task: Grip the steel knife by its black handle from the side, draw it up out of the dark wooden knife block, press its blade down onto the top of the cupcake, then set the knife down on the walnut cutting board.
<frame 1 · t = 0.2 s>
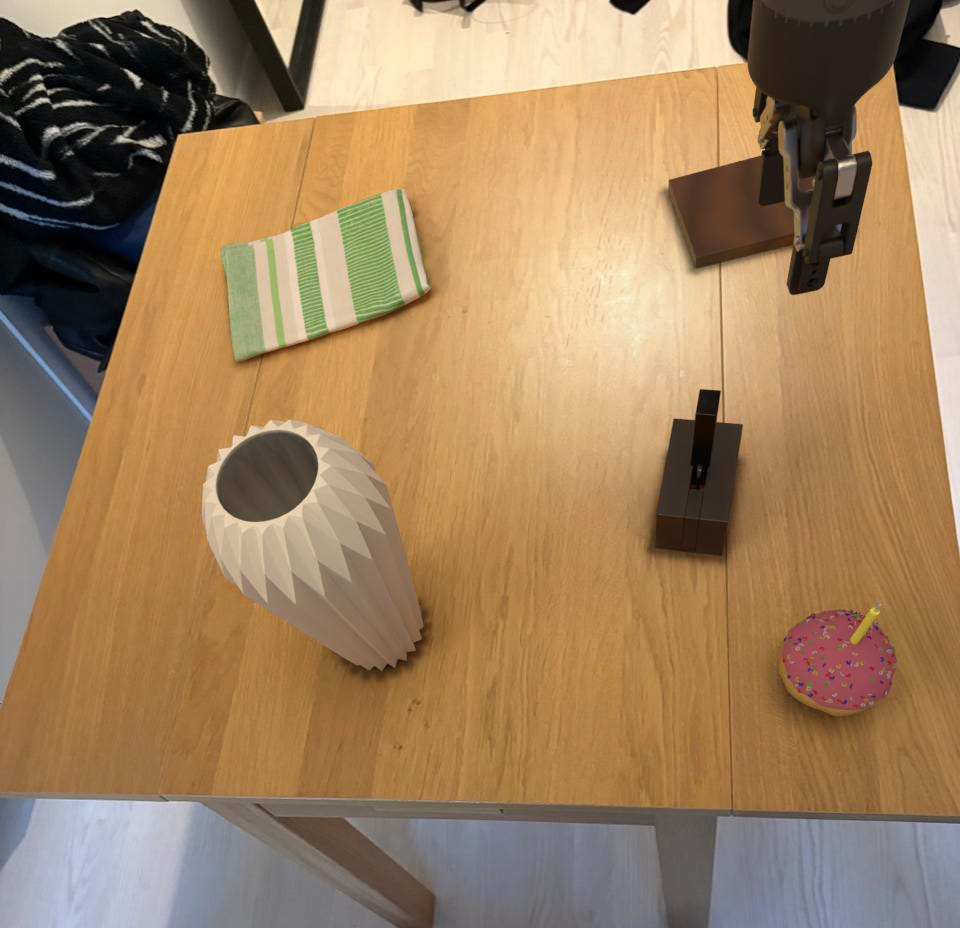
hand: (788, 243, 55), 25 cm above the table, tool pointing down, fingers open, 8 cm apart
vase: (382, 631, 77), on the table
knife block: (695, 504, 76), on the table
cupcake: (825, 681, 68), on the table
cutting board: (755, 210, 88), on the table
dish towel: (327, 281, 96), on the table
knife: (701, 458, 69), in the knife block
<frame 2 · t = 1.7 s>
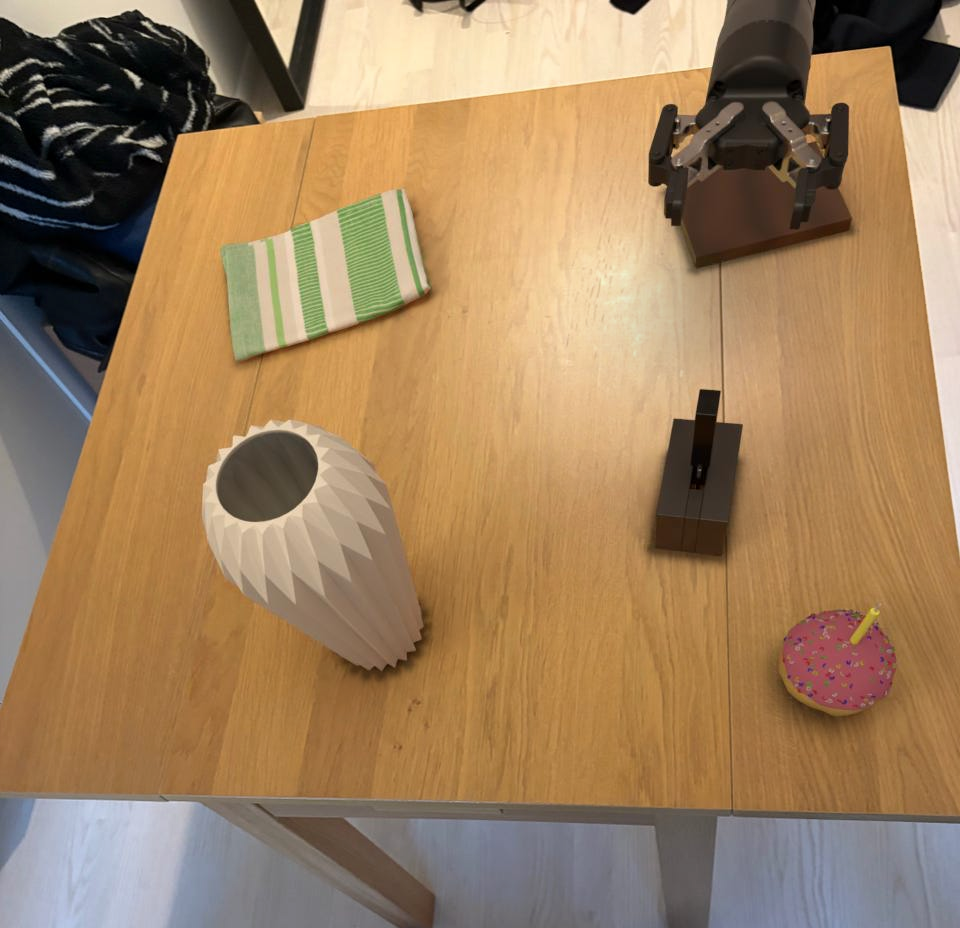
hand: (735, 218, 60), 22 cm above the table, tool horizontal, fingers open, 8 cm apart
nothing on the table moved.
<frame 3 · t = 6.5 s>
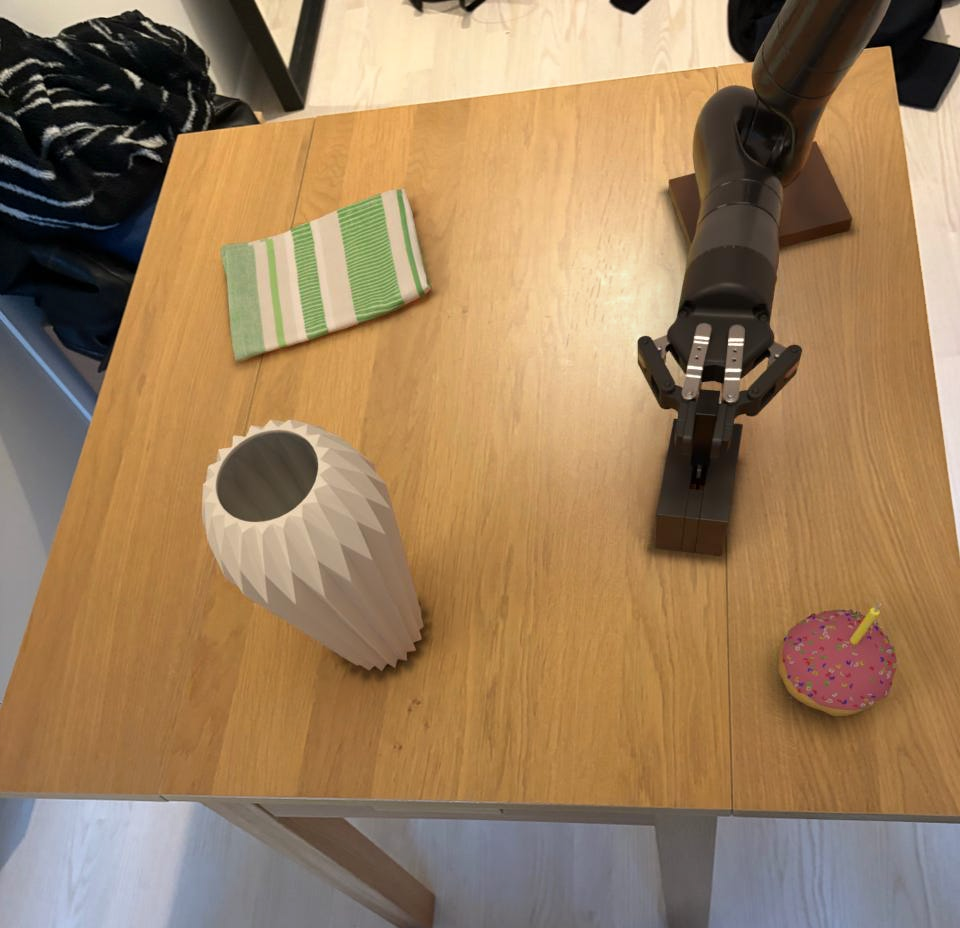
hand: (701, 449, 63), 13 cm above the table, tool horizontal, fingers closed on knife, 1 cm apart
knife: (701, 458, 69), in the knife block, touching gripper
everything else where it was.
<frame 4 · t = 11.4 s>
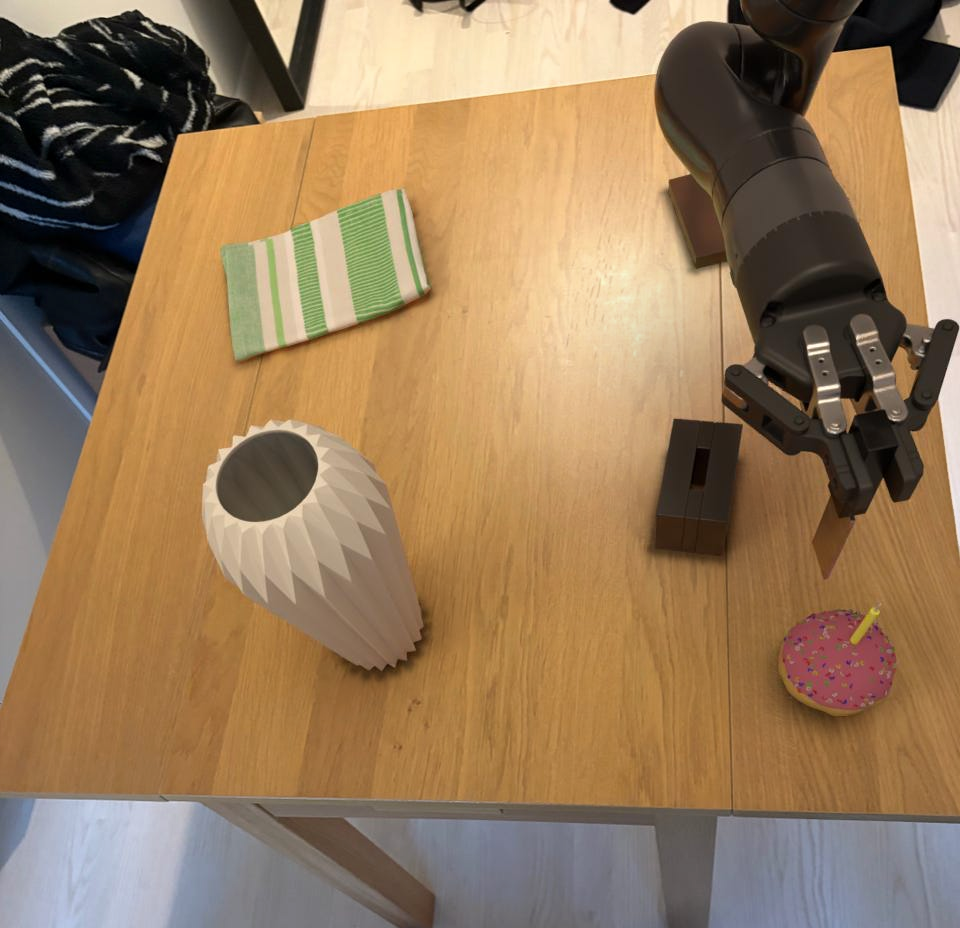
hand: (884, 497, 44), 28 cm above the table, tool horizontal, fingers closed on knife, 1 cm apart
knife: (844, 504, 50), point 22 cm above the table, touching gripper
everything else where it was.
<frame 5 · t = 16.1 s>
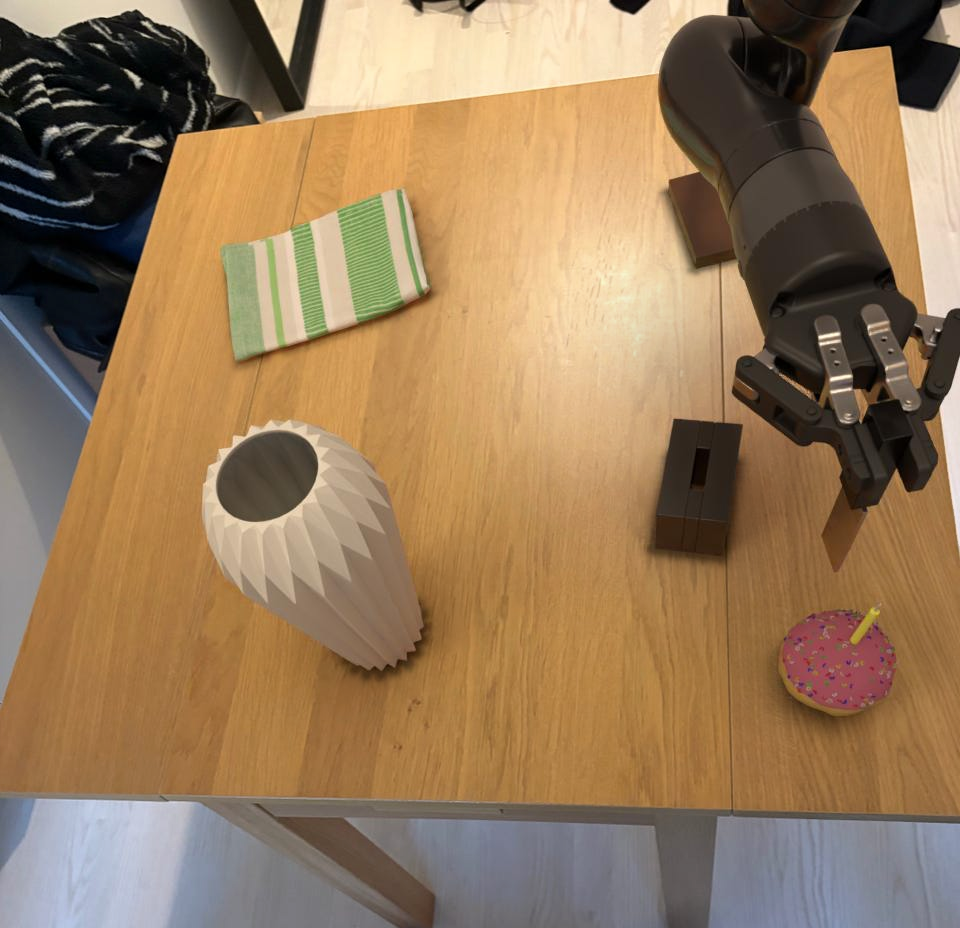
hand: (899, 486, 43), 28 cm above the table, tool horizontal, fingers closed on knife, 1 cm apart
knife: (856, 495, 50), point 22 cm above the table, touching gripper
everything else where it was.
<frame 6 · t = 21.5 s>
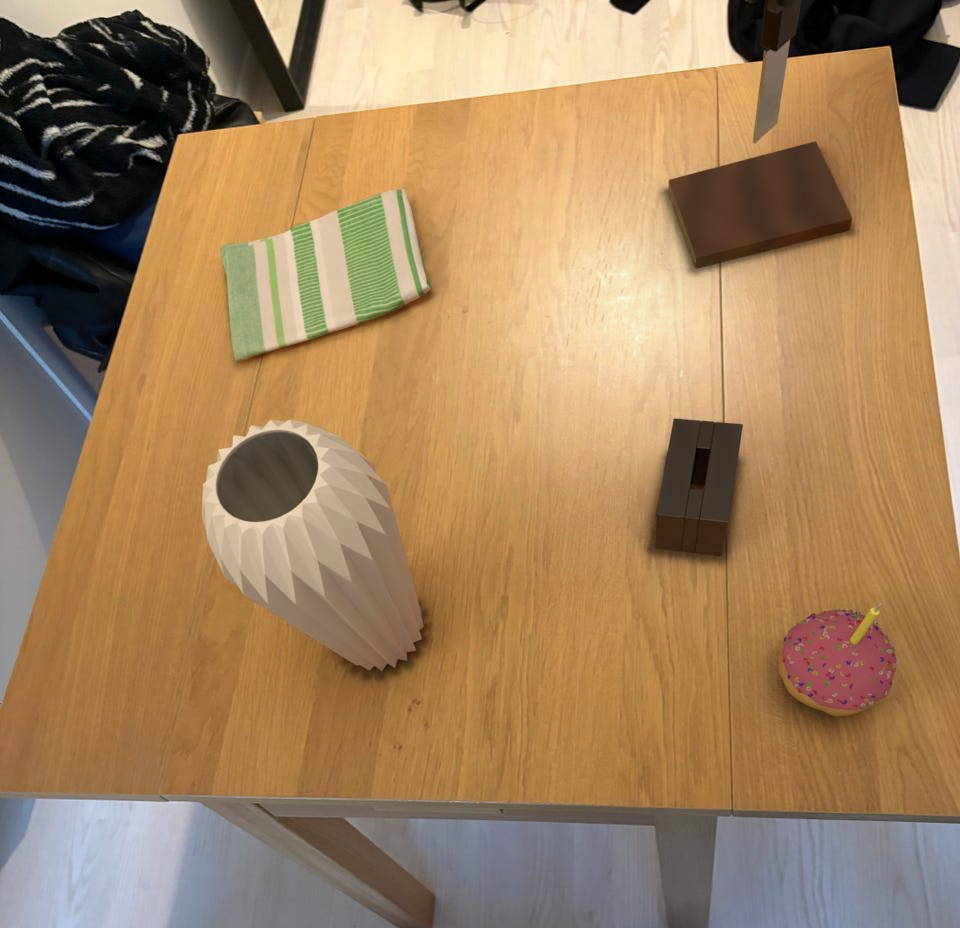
knife: (776, 46, 66), point 22 cm above the table, touching gripper
everything else where it was.
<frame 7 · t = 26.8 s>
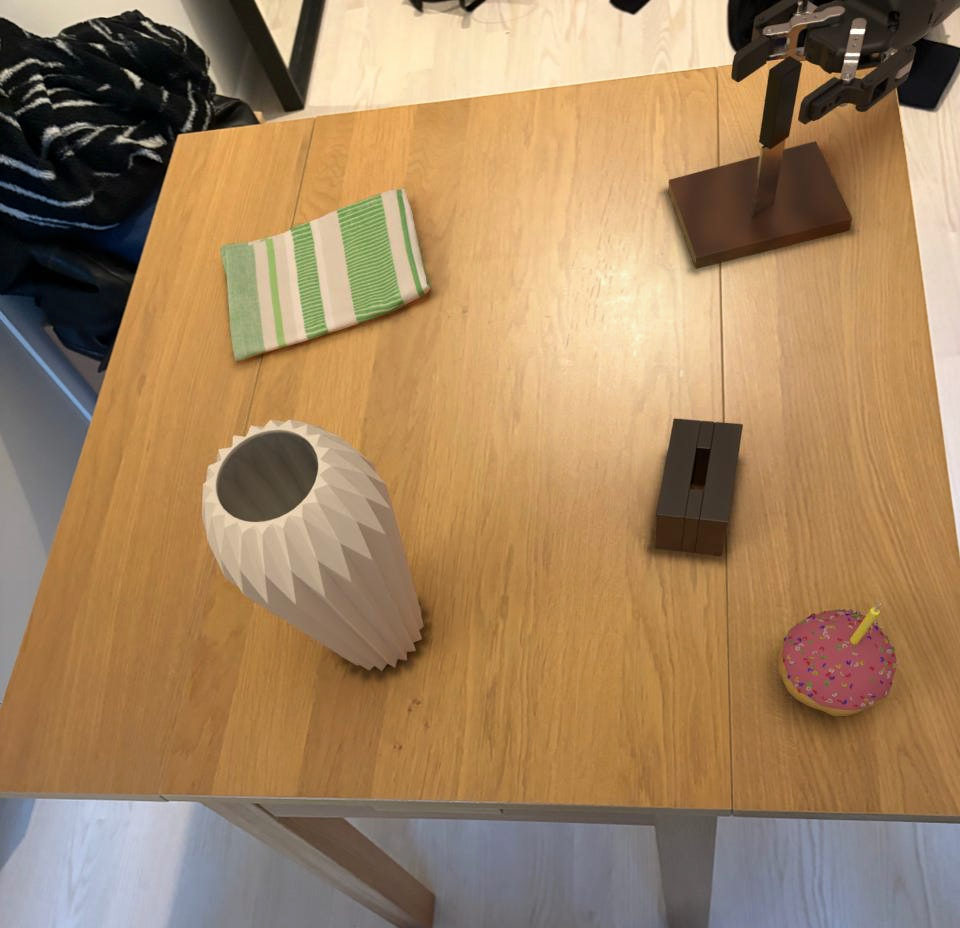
hand: (767, 91, 73), 15 cm above the table, tool horizontal, fingers open, 8 cm apart
knife: (773, 144, 79), on the cutting board, point 9 cm above the table
everything else where it was.
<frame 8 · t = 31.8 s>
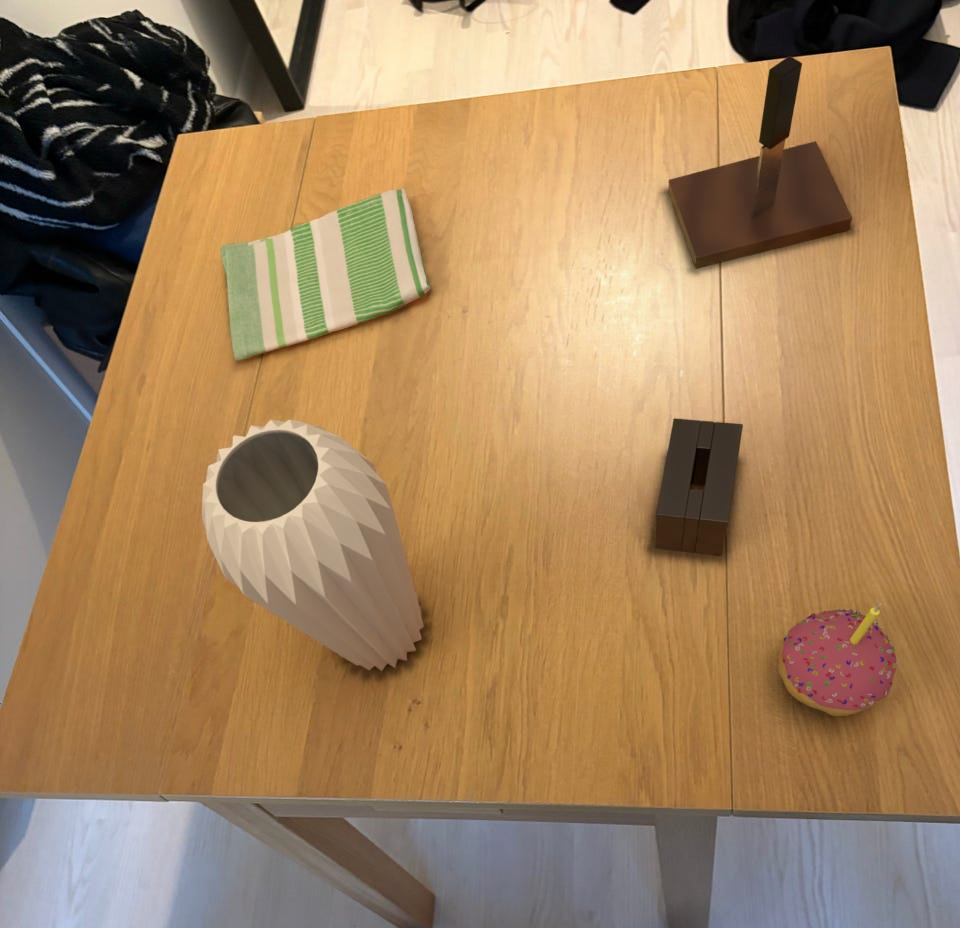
nothing on the table moved.
at the end: knife inside the target area on the cutting board (1.9 cm from its centre), point 9.0 cm above the cutting board's base; cupcake tilted 0°; cupcake moved 0.2 cm from its start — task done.
